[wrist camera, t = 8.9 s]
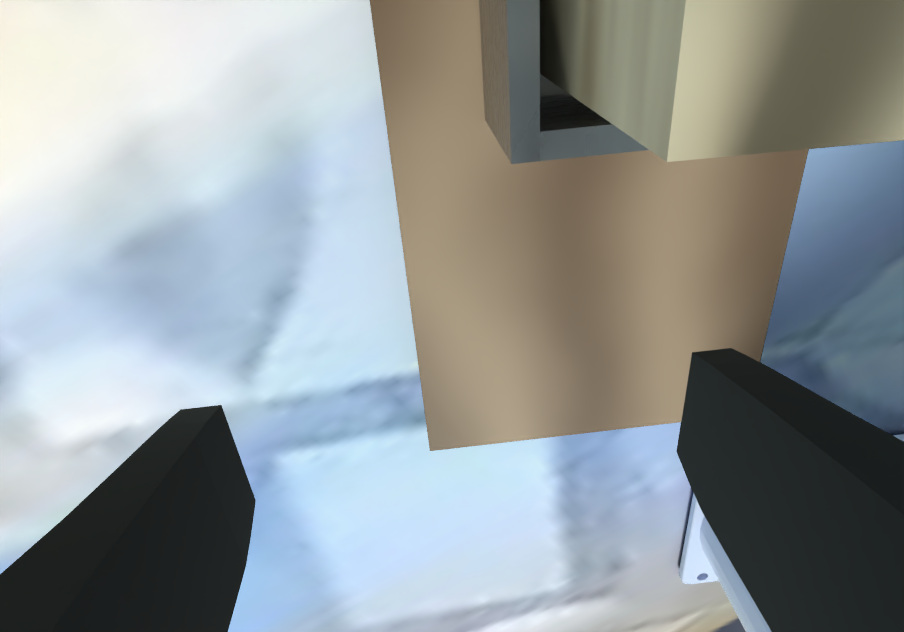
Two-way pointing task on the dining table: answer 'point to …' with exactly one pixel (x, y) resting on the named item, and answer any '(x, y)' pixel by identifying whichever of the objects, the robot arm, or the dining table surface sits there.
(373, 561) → the dining table surface
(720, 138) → the beige wooden block
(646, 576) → the dining table surface
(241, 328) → the dining table surface
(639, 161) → the plank
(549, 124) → the grey open box
